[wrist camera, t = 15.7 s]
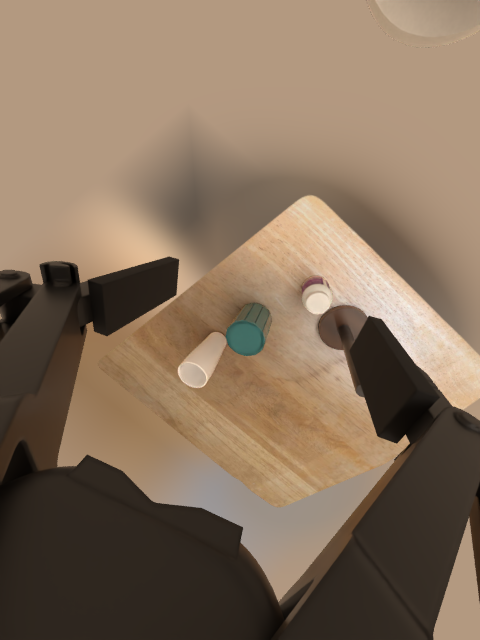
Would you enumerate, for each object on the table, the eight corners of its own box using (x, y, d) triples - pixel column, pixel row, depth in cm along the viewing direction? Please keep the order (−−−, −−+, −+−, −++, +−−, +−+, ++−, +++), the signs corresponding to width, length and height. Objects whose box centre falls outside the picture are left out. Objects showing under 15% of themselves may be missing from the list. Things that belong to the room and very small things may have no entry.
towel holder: (329, 299, 45) (344, 350, 28) (378, 313, 44) (426, 376, 27) (312, 338, 50) (315, 402, 33) (355, 352, 49) (384, 427, 31)
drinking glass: (201, 336, 58) (171, 370, 45) (217, 323, 55) (190, 356, 42) (218, 354, 60) (193, 393, 46) (235, 342, 56) (213, 380, 43)
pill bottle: (297, 293, 47) (295, 309, 38) (309, 271, 44) (310, 283, 36) (320, 304, 46) (323, 323, 38) (334, 282, 44) (341, 297, 35)
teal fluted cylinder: (242, 298, 51) (230, 315, 42) (275, 309, 50) (269, 328, 41) (236, 327, 54) (222, 348, 46) (266, 337, 53) (258, 360, 45)
